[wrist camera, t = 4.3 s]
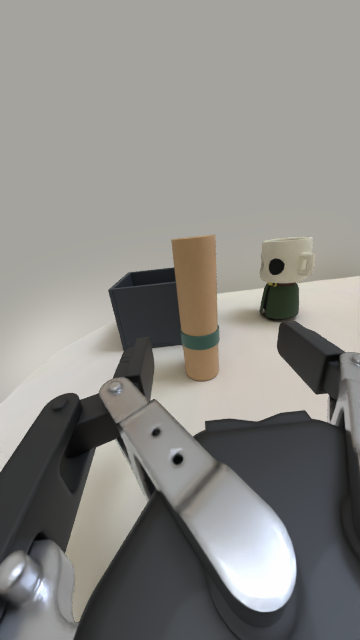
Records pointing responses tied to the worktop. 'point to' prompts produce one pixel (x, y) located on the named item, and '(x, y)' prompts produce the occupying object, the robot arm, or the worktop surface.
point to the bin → (147, 307)
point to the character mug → (284, 274)
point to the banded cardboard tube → (197, 304)
